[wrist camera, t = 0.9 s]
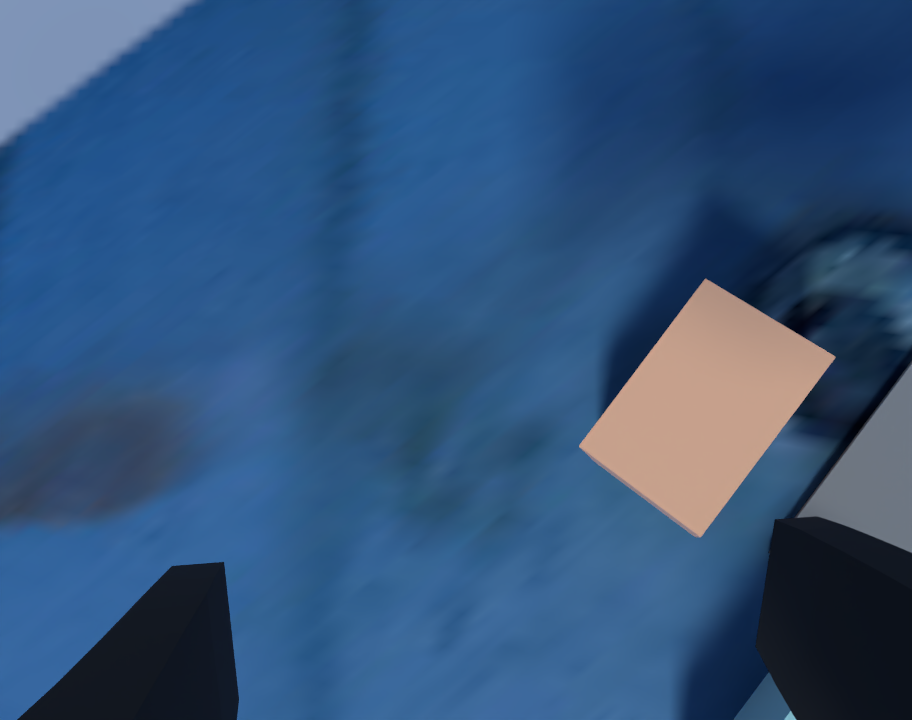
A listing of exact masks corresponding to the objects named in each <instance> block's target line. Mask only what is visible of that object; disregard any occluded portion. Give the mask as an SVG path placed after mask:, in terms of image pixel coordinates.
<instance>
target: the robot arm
mask: <svg viewBox="0 0 912 720" xmlns="http://www.w3.org/2000/svg"><path fill="white" fill-rule="evenodd" d="M756 648H757V650H758V652H759V654H760V656H761V658H762V660H763V661H764V663H765V665H766V667H767V669H768V671H769V673H770V675H771V677H772V679H773V680H774V682H775V684H776V686H777V688H778V690H779V691H780V693H781V695H782V696H783V698H784V700H785V702H786V703H787V705H788V707H789V709H790V710H791V712H792V714H793V716H794V717H795V719H796V720H912V553H911V552H909V551H906V550H904V549H902V548H899V547H897V546H895V545H892V544H890V543H887V542H885V541H883V540H880V539H878V538H875V537H873V536H870V535H868V534H865V533H863V532H861V531H858V530H855V529H853V528H850V527H848V526H845V525H842V524H839V523H836V522H833V521H830V520H827V519H824V518H821V517H817V516H814V517H801V518H788V519H775V522H774V529H773V535H772V542H771V548H770V555H769V561H768V568H767V574H766V581H765V588H764V594H763V601H762V607H761V614H760V620H759V627H758V633H757V640H756ZM238 703H239V696H238V687H237V677H236V668H235V659H234V650H233V641H232V631H231V622H230V613H229V604H228V595H227V586H226V576H225V567H224V562H219V563H206V564H193V565H180V566H172V567H171V568H170V569H169V570H168V571H167V572H166V573H165V574H164V575H163V576H162V577H161V578H160V579H159V580H158V581H157V582H156V583H155V584H154V585H153V586H152V587H151V588H150V589H149V590H148V591H147V592H146V593H145V594H144V595H143V596H142V597H141V598H140V599H139V600H138V601H137V602H136V603H135V604H134V605H133V606H132V608H131V609H130V610H129V611H128V612H127V613H126V614H125V615H124V616H123V617H122V618H121V619H120V620H119V621H118V622H117V623H116V624H115V625H114V626H113V627H112V628H111V629H110V630H109V631H108V632H107V634H106V635H105V636H104V637H103V638H102V639H101V640H100V641H99V642H98V643H97V644H96V645H95V646H94V647H93V648H92V649H91V650H90V651H89V652H88V653H87V654H86V655H85V656H84V657H83V658H82V659H81V660H80V661H79V662H78V663H77V664H76V665H75V666H74V667H73V668H72V669H71V670H70V671H69V672H68V673H67V674H66V675H65V676H64V677H63V678H62V679H61V680H60V681H59V682H58V683H57V684H56V685H55V686H54V687H52V688H51V689H50V690H49V691H48V692H47V693H46V694H45V695H44V696H43V697H41V698H40V699H39V700H38V701H37V702H36V703H35V704H34V705H33V706H32V707H31V708H29V709H28V710H27V711H26V712H25V713H24V714H23V715H22V716H21V717H20V718H19V719H17V720H237V712H238Z"/></svg>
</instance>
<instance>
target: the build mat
mask: <svg viewBox="0 0 912 720" xmlns="http://www.w3.org/2000/svg"><path fill="white" fill-rule="evenodd" d="M814 516H817V517H821V518H824V519H827V520H830V521H833V522H836V523H839V524H842V525H845V526H848V527H850V528H853V529H855V530H858V531H861V532H863V533H865V534H868V535H870V536H873V537H875V538H878V539H880V540H883V541H885V542H887V543H890V544H892V545H895V546H897V547H899V548H902V549H904V550H906V551H909V552H911V553H912V361H911V363H910V364H909V365H908V367H907V368H906V369H905V371H904V372H903V373H902V375H901V376H900V377H899V379H898V380H897V381H896V383H895V384H894V385H893V387H892V388H891V389H890V391H889V392H888V393H887V395H886V396H885V397H884V399H883V400H882V401H881V403H880V404H879V405H878V407H877V408H876V409H875V411H874V412H873V413H872V415H871V416H870V417H869V419H868V420H867V421H866V423H865V424H864V425H863V427H862V428H861V429H860V431H859V432H858V433H857V435H856V436H855V437H854V439H853V440H852V441H851V443H850V444H849V445H848V447H847V448H846V449H845V451H844V452H843V453H842V455H841V456H840V457H839V459H838V460H837V461H836V463H835V464H834V466H833V467H832V468H831V470H830V471H829V472H828V474H827V475H826V476H825V478H824V479H823V480H822V482H821V483H820V484H819V486H818V487H817V488H816V490H815V491H814V492H813V494H812V495H811V496H810V498H809V499H808V500H807V502H806V503H805V504H804V506H803V507H802V508H801V510H800V511H799V512H798V514H797V515H796V516H795V518H801V517H814ZM768 553H770V551H769V552H768Z"/></svg>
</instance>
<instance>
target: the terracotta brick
mask: <svg viewBox="0 0 912 720" xmlns="http://www.w3.org/2000/svg"><path fill="white" fill-rule="evenodd" d="M834 359H835V356H834V355H832V354H830V353H829V352H827V351H825V350H824V349H822V348H820V347H819V346H817V345H815V344H814V343H812V342H810V341H809V340H807V339H805V338H804V337H802V336H800V335H799V334H797V333H795V332H794V331H792V330H790V329H789V328H787V327H785V326H784V325H782V324H780V323H779V322H777V321H775V320H774V319H772V318H770V317H769V316H767V315H765V314H764V313H762V312H760V311H759V310H757V309H755V308H754V307H752V306H750V305H749V304H747V303H745V302H744V301H742V300H741V299H739V298H737V297H736V296H734V295H732V294H731V293H729V292H727V291H726V290H724V289H722V288H721V287H719V286H717V285H716V284H714V283H712V282H711V281H709V280H707V279H706V278H705V280H704V281H703V282H702V284H701V285H700V286H699V288H698V289H697V290H696V291H695V293H694V294H693V295H692V297H691V298H690V299H689V301H688V302H687V303H686V305H685V306H684V307H683V309H682V310H681V311H680V313H679V314H678V315H677V317H676V318H675V319H674V321H673V322H672V323H671V325H670V326H669V327H668V329H667V330H666V331H665V333H664V334H663V335H662V337H661V338H660V339H659V341H658V342H657V343H656V345H655V346H654V347H653V349H652V350H651V351H650V353H649V354H648V355H647V357H646V358H645V359H644V360H643V362H642V363H641V364H640V366H639V367H638V368H637V370H636V371H635V372H634V374H633V375H632V376H631V378H630V379H629V380H628V382H627V383H626V384H625V386H624V387H623V388H622V390H621V391H620V392H619V394H618V395H617V396H616V398H615V399H614V400H613V402H612V403H611V404H610V406H609V407H608V408H607V410H606V411H605V412H604V414H603V415H602V416H601V418H600V419H599V420H598V422H597V423H596V424H595V426H594V427H593V428H592V429H591V431H590V432H589V433H588V435H587V436H586V437H585V439H584V440H583V441H582V443H581V444H580V445H579V447H580V448H581V449H582V450H583V451H584V452H585V453H586V454H587V455H588V456H589V457H590V458H591V459H592V460H593V461H595V462H596V463H597V464H598V465H600V466H601V467H602V468H604V469H605V470H606V471H608V472H609V473H610V474H612V475H613V476H614V477H616V478H617V479H618V480H620V481H621V482H622V483H624V484H625V485H626V486H628V487H629V488H630V489H632V490H633V491H634V492H636V493H637V494H638V495H640V496H641V497H642V498H644V499H645V500H646V501H648V502H649V503H650V504H652V505H653V506H654V507H656V508H657V509H658V510H660V511H661V512H662V513H664V514H665V515H666V516H668V517H669V518H670V519H672V520H673V521H674V522H676V523H677V524H678V525H680V526H681V527H682V528H684V529H685V530H686V531H688V532H689V533H690V534H692V535H693V536H694V537H701V536H702V535H703V533H704V532H705V531H706V529H707V528H708V527H709V525H710V524H711V523H712V521H713V520H714V519H715V517H716V516H717V515H718V513H719V512H720V511H721V509H722V508H723V507H724V505H725V504H726V503H727V501H728V500H729V499H730V497H731V496H732V495H733V493H734V492H735V491H736V489H737V488H738V487H739V485H740V484H741V483H742V481H743V480H744V479H745V477H746V476H747V475H748V473H749V472H750V471H751V469H752V468H753V467H754V465H755V464H756V463H757V461H758V460H759V459H760V457H761V456H762V455H763V453H764V452H765V451H766V449H767V448H768V447H769V445H770V444H771V443H772V441H773V440H774V439H775V437H776V436H777V435H778V433H779V432H780V431H781V429H782V428H783V427H784V425H785V424H786V423H787V421H788V420H789V419H790V417H791V416H792V415H793V413H794V412H795V411H796V409H797V408H798V407H799V405H800V404H801V403H802V401H803V400H804V399H805V397H806V396H807V395H808V393H809V392H810V391H811V389H812V388H813V387H814V385H815V384H816V383H817V381H818V380H819V379H820V377H821V376H822V375H823V373H824V372H825V371H826V369H827V368H828V367H829V365H830V364H831V363H832V361H833V360H834Z"/></svg>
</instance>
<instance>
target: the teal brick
mask: <svg viewBox="0 0 912 720" xmlns="http://www.w3.org/2000/svg"><path fill="white" fill-rule="evenodd" d="M733 720H796V719H795V717H794V716H793V714H792V712H791V710H790V709H789V707H788V705H787V703H786V702H785V700H784V698H783V696H782V695H781V693H780V691H779V690H778V688H777V686H776V684H775V682H774V680H773V679H772V677H771V675H770V673H768V674H767V675H766V677H765V678H764V679H763V681H762V682H761V683H760V685H759V686H758V687H757V689H756V690H755V691H754V693H753V694H752V695H751V697H750V698H749V699H748V701H747V702H746V703H745V705H744V706H743V707H742V709H741V710H740V711H739V713H738V714H737V715H736V717H735V718H734V719H733Z"/></svg>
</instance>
